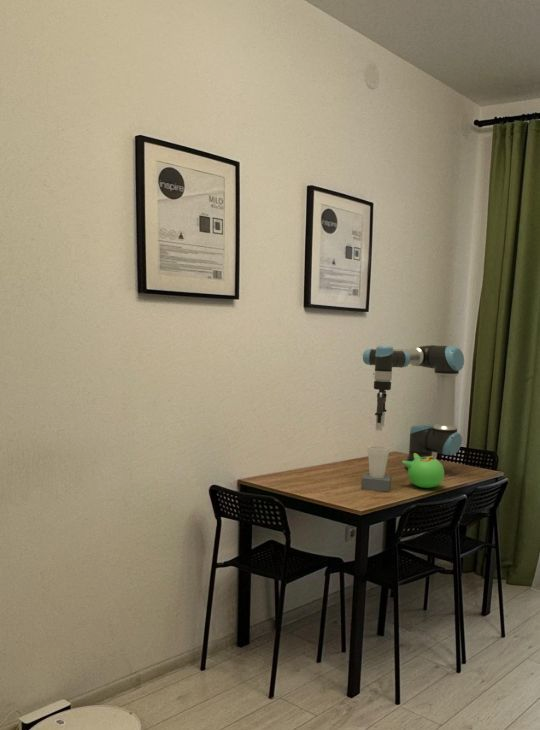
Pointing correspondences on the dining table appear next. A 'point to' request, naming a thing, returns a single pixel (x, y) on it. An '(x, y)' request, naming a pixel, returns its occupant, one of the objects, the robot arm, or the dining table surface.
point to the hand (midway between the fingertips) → (379, 428)
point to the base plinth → (376, 483)
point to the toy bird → (425, 471)
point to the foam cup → (377, 460)
